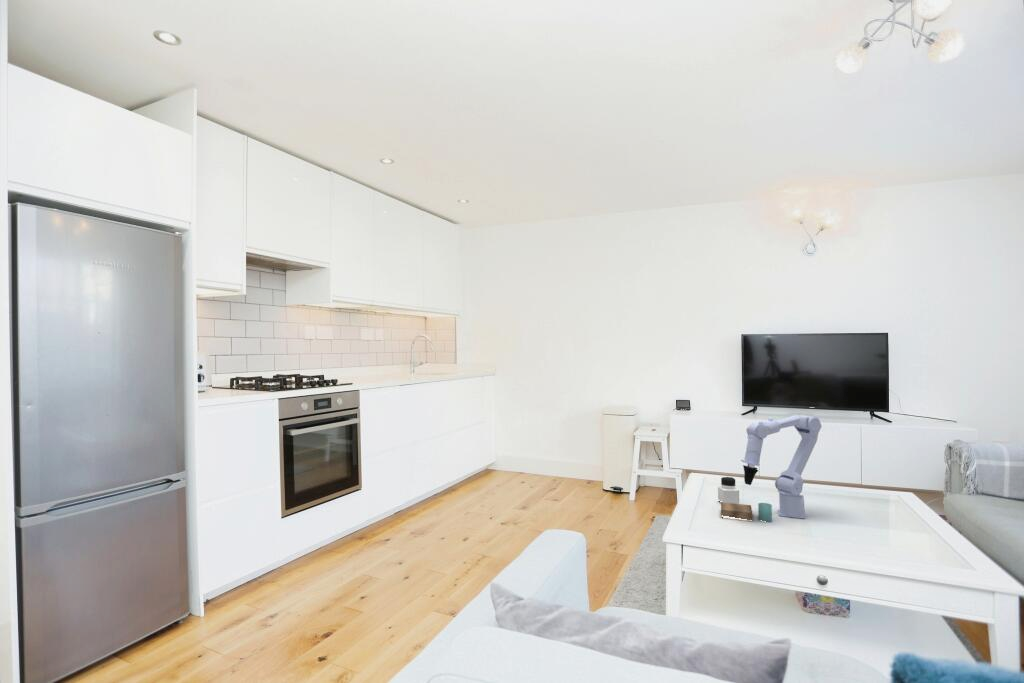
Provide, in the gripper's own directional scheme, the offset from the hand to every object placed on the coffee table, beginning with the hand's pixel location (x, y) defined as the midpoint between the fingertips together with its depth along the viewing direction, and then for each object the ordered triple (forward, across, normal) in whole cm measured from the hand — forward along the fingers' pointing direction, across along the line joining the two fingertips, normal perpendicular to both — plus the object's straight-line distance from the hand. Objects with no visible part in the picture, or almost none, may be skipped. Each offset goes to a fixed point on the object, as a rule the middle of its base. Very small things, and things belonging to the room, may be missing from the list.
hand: (747, 483), depth 217 cm
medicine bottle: (+13, -23, -5) cm, 27 cm away
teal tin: (+13, -2, +9) cm, 16 cm away
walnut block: (+15, -4, -2) cm, 16 cm away
